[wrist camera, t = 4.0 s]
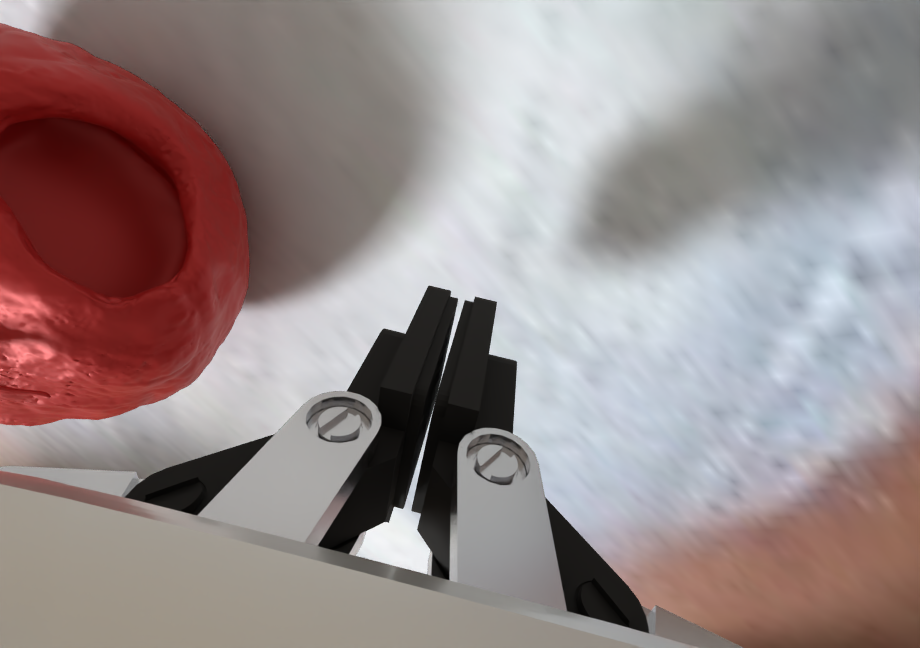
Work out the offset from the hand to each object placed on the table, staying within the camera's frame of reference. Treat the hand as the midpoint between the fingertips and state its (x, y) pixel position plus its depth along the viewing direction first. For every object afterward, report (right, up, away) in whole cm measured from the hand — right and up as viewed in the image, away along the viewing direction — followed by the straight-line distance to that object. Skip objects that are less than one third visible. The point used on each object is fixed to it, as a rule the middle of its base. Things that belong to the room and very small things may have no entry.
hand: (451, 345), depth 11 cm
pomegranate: (-10, +4, +4) cm, 12 cm away
